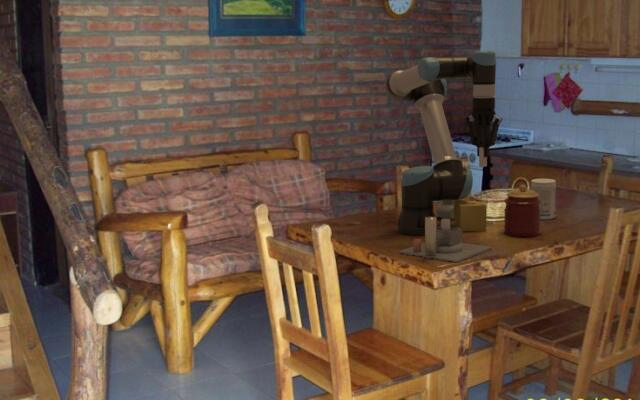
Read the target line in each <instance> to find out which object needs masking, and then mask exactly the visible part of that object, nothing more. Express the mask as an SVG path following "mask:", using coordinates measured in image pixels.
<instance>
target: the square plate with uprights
mask: <svg viewBox="0 0 640 400" xmlns="http://www.w3.org/2000/svg"><path fill="white" fill-rule="evenodd" d="M440 225H441V230H447V231H448V230H450V226H451V220H450V219H443V218H441V219H440ZM491 250H492V246H487V245H486V246H485V245H480V244H473V243H467V242H462V241H461V242H459V243H456V244H454V245H452V246H448V245H441V246H438V247H436V255H426V254H425V241H424V242H422V239H420V238H414V239H413V246H409V247H407V248H405V249H401V250H399V251H398V252H399V254H400V253H404V254H403V255H406V254H410V255H409V256H412V255H416V256H415V257H418V256H422V257H421V258H424V257H427V258H426V259H430V258H434V259H433V260H436V259H440V260H439V261H441V260H446V261H445V262H447V261H452V262H451V263H453V262H458V263H460V262H459V261H461V262H463V261H465V260H464V259H466V260H468V259H471V258H473V257H475V256H474V255H476V256H478V255H481V254H483V253H486V252H488V251H491ZM480 253H481V254H480ZM477 254H478V255H477ZM472 256H473V257H472ZM470 257H471V258H470ZM467 258H468V259H467ZM462 260H463V261H462Z"/></svg>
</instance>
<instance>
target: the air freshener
mask: <svg viewBox="0 0 640 400" xmlns="http://www.w3.org/2000/svg"><path fill="white" fill-rule="evenodd" d="M454 201H456V200H447V201H441V203H440V204H439V205H438V206H437V207H436V208H435V212H436V213H435V214H436V215H437V217H439V218H441V219H450V221H455V218H454Z"/></svg>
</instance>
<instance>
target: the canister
mask: <svg viewBox="0 0 640 400" xmlns="http://www.w3.org/2000/svg"><path fill="white" fill-rule="evenodd" d="M506 196H507V198H505V199H504V203H505V208H503V211H504V217H503V218H504V220H503V221H504V222H503V231H504V233H505V234H506V235H509V236H514V237H534V236H539V235H541V234H540V233H541V230H542V227H541V219H540V217H541V209H540V203H541V200H540V199H538V196H539V194H538V193H536V192H535V191H534V190H531V189H527V186H526V184H520V186H519V187H518V189H512V190H510V191H509V192H507V193H506Z"/></svg>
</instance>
